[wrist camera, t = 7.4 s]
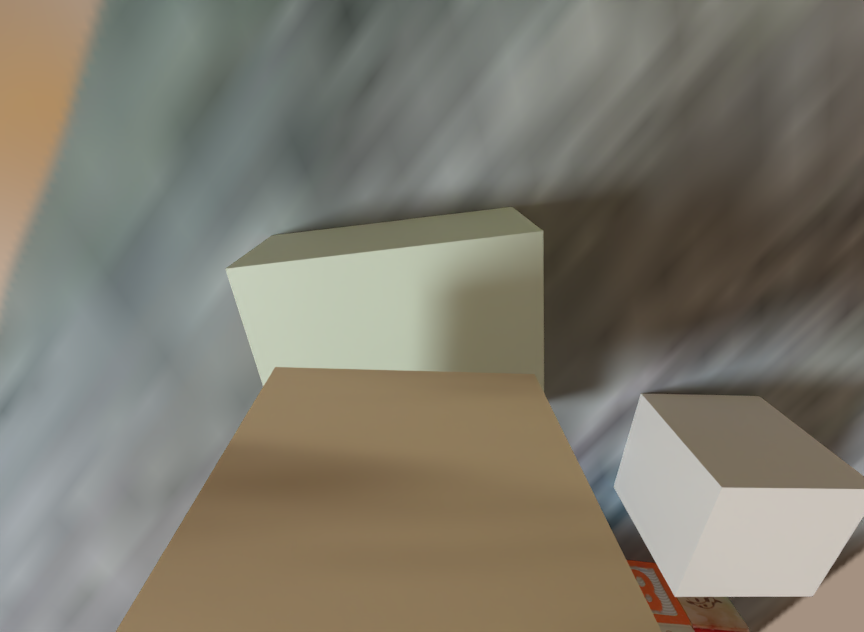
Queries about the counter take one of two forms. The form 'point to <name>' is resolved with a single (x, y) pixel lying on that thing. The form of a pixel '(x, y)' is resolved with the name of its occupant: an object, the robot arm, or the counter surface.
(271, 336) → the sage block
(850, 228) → the counter surface
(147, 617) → the maple cube
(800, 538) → the grey cube
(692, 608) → the stack of blocks
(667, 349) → the counter surface
